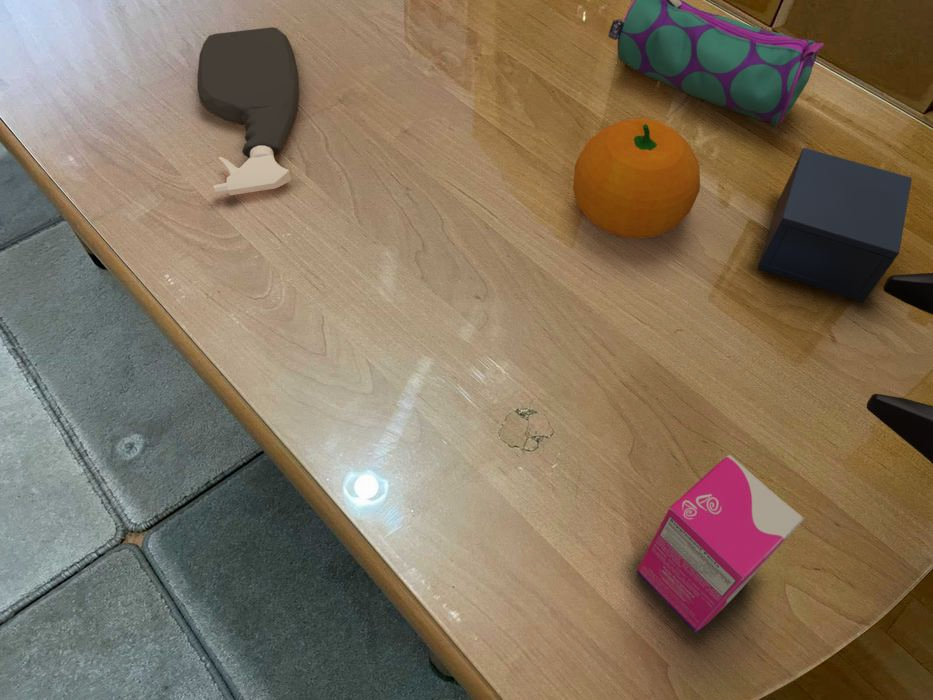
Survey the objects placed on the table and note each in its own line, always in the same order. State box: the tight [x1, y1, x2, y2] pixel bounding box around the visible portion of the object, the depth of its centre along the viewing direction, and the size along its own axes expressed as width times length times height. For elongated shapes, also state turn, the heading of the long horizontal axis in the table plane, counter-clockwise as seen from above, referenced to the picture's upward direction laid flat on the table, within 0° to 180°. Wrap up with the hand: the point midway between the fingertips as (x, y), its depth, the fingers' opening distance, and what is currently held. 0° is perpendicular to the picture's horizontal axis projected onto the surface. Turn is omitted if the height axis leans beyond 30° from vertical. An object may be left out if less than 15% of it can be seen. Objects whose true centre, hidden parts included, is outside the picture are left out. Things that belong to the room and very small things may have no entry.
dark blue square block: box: [757, 158, 896, 303], centre depth 68 cm, size 10×10×6 cm
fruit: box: [572, 118, 701, 239], centre depth 70 cm, size 12×12×10 cm
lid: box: [780, 147, 913, 260], centre depth 66 cm, size 10×10×1 cm
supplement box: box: [636, 454, 804, 633], centre depth 48 cm, size 6×6×12 cm
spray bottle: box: [196, 26, 300, 196], centre depth 80 cm, size 3×11×24 cm
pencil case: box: [607, 0, 825, 127], centre depth 80 cm, size 21×9×10 cm, turn 54°
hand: (878, 338), depth 43 cm, fingers open, 9 cm apart
